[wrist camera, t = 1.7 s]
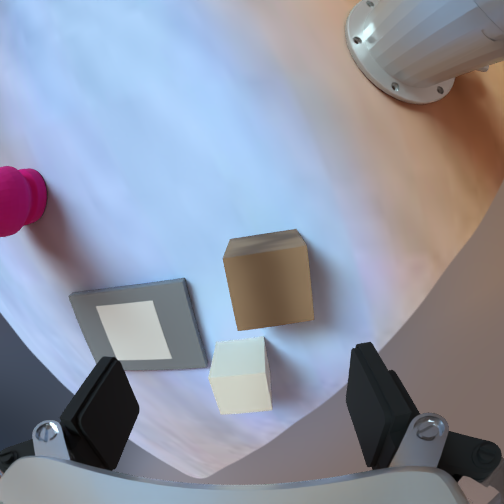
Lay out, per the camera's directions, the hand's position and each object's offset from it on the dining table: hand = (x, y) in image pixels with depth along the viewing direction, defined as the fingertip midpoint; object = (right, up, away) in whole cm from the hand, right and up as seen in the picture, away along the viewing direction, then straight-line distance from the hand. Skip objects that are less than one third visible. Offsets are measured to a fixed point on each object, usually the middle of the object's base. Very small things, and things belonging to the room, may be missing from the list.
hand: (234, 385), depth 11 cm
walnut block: (+2, +4, +17) cm, 17 cm away
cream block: (0, -6, +20) cm, 21 cm away
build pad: (-12, -3, +19) cm, 22 cm away
